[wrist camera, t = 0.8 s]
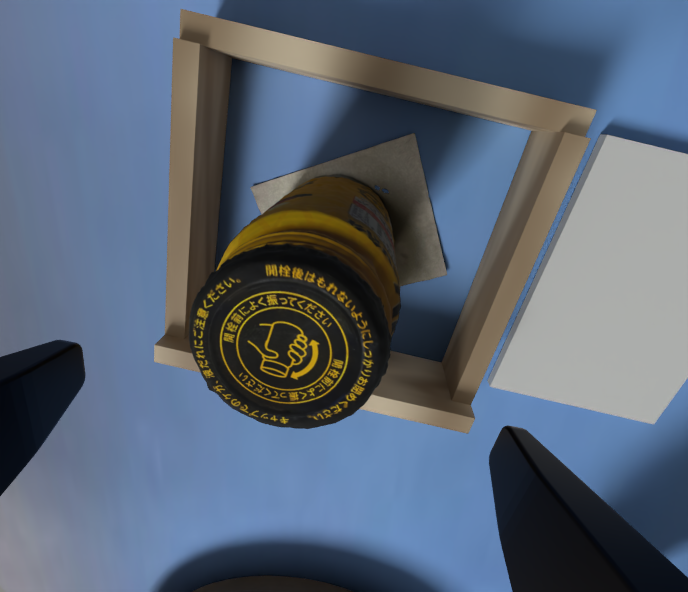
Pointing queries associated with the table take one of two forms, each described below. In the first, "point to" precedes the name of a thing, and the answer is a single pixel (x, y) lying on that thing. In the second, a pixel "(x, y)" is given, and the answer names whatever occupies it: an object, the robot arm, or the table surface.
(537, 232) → the pine frame
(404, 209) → the condiment
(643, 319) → the grey mat
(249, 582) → the plant saucer
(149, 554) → the table surface
